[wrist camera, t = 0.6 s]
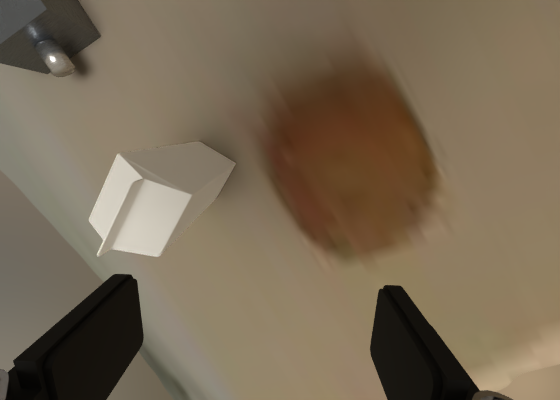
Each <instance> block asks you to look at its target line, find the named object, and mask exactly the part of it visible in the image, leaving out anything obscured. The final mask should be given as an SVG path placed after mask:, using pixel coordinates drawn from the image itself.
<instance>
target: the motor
mask: <svg viewBox="0 0 560 400" xmlns="http://www.w3.org/2000/svg"><path fill="white" fill-rule="evenodd" d="M99 37H101V36H100V34H99V32H98V31H97V29H96V28H95V26H94V25H93V23H92V22H91V20H90V19H89V17H88V15H87V14H86V12H85V11H84V9H83V8H82V6H81V5H80V3H79V1H78V0H0V63H2V64H6V65H11V66H15V67H19V68H24V69H28V70H32V71H37V72H41V73H45V74H48V73H50V72H52V73H53V75H54V76H56V77H64V76H68V75H70V74H72V73H73V72H74V71H75V69H76V68H75V67H74V65H73V64H72V62H71V61H70V59H69V58H71V57H72V56H74V55H75V54H77V53H78V52H79V51H81V50H82V49H84V48H85V47H86V46H88V45H89V44H91V43H92V42H94V41H95V40H96V39H98V38H99Z"/></svg>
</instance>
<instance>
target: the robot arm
mask: <svg viewBox="0 0 560 400" xmlns="http://www.w3.org/2000/svg"><path fill="white" fill-rule="evenodd" d="M142 343H143V328H142V319H141V310H140V302H139V293H138V285H137V280H136V279H133V277H132V275H129V274H114V275H112V276H111V277H110V278H109V279H108V280H107V281H105V282H104V283H103V284H102V285H101V286H100V287H99V288H97V289H96V290H95V291H94V292H93V293H91V294H90V295H89V296H88V297H87V298H86V299H84V300H83V301H82V302H81V303H80V304H79V305H77V306H76V307H75V308H74V309H73V310H72V311H71V312H69V313H68V314H67V315H66V316H65V317H64V318H62V319H61V320H60V321H59V322H58V323H56V324H55V325H54V326H53V327H52V328H51V329H50V330H48V331H47V332H46V333H45V334H44V335H43V336H41V337H40V338H39V339H38V340H37V341H36V342H34V343H33V344H32V345H31V346H30V347H29V348H27V349H26V350H25V351H24V352H23V353H22V354H20V355H19V356H18V357H17V358H16V359H15V360H13V362H14V365H15V367H13V368H12V369H11V370H10V371H9V372H6V371H5V370H2V369H0V400H106V399H107V398H108V396H109V395H110V393H111V392H112V390H113V389H114V387H115V386H116V384H117V383H118V381H119V379H120V378H121V376H122V375H123V373H124V372H125V370H126V369H127V367H128V366H129V364H130V363H131V361H132V360H133V358H134V357H135V355H136V354H137V352H138V351H139V349H140V347H141V345H142ZM370 352H371V357H372V360H373V362H374V365H375V368H376V370H377V373H378V375H379V378H380V381H381V383H382V386H383V389H384V391H385V394H386V397H387V399H388V400H513V399H511V398H509V397H507V396H505V395H502V394H500V393H498V392H493V391H489V390H486V391H480V390H479V389H478V387H477V386H476V385H475V383H474V382H473V381H472V379H471V378H470V377H469V375H468V374H467V373H466V371H465V370H464V369H463V367H462V366H461V365H460V363H459V362H458V361H457V359H456V358H455V356H454V355H453V354H452V352H451V351H450V350H449V348H448V347H447V346H446V344H445V343H444V342H443V340H442V339H441V338H440V336H439V335H438V334H437V332H436V331H435V329H434V328H433V327H432V326H431V325H430V324H429V323H428V322H427V320H426V319H425V318H424V316H423V315H422V313H421V312H420V311H419V309H418V308H417V307H416V305H415V304H414V303H413V301H412V300H411V298H410V297H409V296H408V294H407V293H406V292H405V290H404V289H403V288H402V287H401V286H394V285H385V286H384V287H383V289H380V290H379V292H378V299H377V305H376V312H375V318H374V325H373V332H372V338H371V345H370Z"/></svg>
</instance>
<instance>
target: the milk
mask: <svg viewBox="0 0 560 400" xmlns="http://www.w3.org/2000/svg"><path fill="white" fill-rule="evenodd" d="M235 165H236V163H235V162H233V161H232V160H230V159H228V158H227V157H225V156H223V155H222V154H220V153H218V152H217V151H215V150H213V149H212V148H210V147H208V146H206V145H205V144H203V143H201V142H200V141H197V142H190V143H183V144H176V145H170V146H163V147H156V148H149V149H143V150H136V151H129V152H122V153H118V154H117V156H116V158H115V161H114V163H113V165H112V167H111V170H110V172H109V174H108V176H107V179H106V181H105V183H104V186H103V188H102V190H101V192H100V195H99V197H98V199H97V202H96V204H95V206H94V208H93V211H92V213H91V215H90V217H89V222H90V223H91V224H92V226H93V227H94V228H95V230H96V231H97V232H98V234H99V235H100V236H101V238H102V239H103V242H102V245H101V247H100V249H99V251H98V253H97V256H98V257H100V256H101V255H103V254H104V253H106V252H107V251H109V250H110V249H114V250H120V251H126V252H131V253H137V254H143V255H149V256H154V257H159V256H160V255H161V254H162V253H163V252H164V251H165V250H166V249H167V248H168V247H169V246H170V245H171V244H172V243H173V242H174V241H175V240H176V239H177V238H178V237H179V236H180V235H181V234H182V233H183V232H184V231H185V230H186V229H187V228H188V227H189V226H190V225H191V224H192V223H193V222H194V221H195V220H196V219H197V218H198V217H199V216H200V214H201V213H202V212H203V211H204V210H205V209H206V208H207V207H208V206H209V205H210V204H211V203H212V202H213V201H214V200H215V199H216V198H217V197H218V195H219V193H220V191H221V190H222V188H223V186H224V184H225V182H226V181H227V179H228V177H229V175H230V174H231V172H232V170H233V168H234V166H235Z"/></svg>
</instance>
